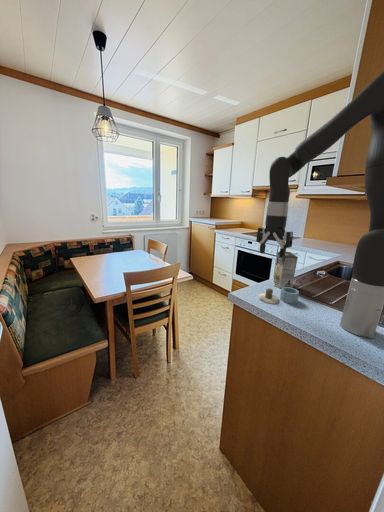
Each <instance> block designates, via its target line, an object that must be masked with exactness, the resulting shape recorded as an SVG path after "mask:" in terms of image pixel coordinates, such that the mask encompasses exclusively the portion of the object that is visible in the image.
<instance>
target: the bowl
mask: <svg viewBox="0 0 384 512" xmlns="http://www.w3.org/2000/svg"><path fill="white" fill-rule="evenodd" d="M280 289H281V290H280V295H279V296H280V297H279V300H281V301H282V302H283V303H286V304H288V305H289V304H290V305H296V304H297V303H298V301H299V295H300V291H299V290H297V289H296V288H293V287H292V288H290V287H283V288H280Z"/></svg>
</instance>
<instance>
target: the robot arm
mask: <svg viewBox="0 0 384 512" xmlns="http://www.w3.org/2000/svg"><path fill="white" fill-rule="evenodd" d="M367 117H369V118H370V140H369V144H368V149H367V154H366V159H365V166H364V167H365V168H364V191H365V197H366V200H367V205H368V209H369V211H370V213H369V214H370V216H369V217H370V218H369V219H370V220H369V226H368V232H366V233H365V234H362V236H361V237H360V239H359V240H358V242H357V245H356V249H355V254H354V258H353V263H352V276H351V279H350V283H349V288H348V291H347V295H346V299H345V303H344V308H343V311H342V314H341V317H340V323H339V325H340V327H341V328H342V329H344V330H345V331H347V332H349V333H351V334H353V335H355V336H359V337H363V338H369V339H374V337H375V334H376V331H377V328H378V325H379V321H380V318H381V314H382V312H383V309H384V70H383V71H382V72H380V73H379V74H378V75H377V76H376V77H375V78H374V79H373V80H372V81H371V82H369V84H368V85H367V86H365V88H363V90H362V91H360V93H358V94H357V95H356V97H354V98H353V99H352V100H351V101H350V102H349V103H348V104H347V105H345V106H344V108H342V109H341V110H339V112H338V113H337V114H335V115H334V116H333V117H332V118H330V119H329V120H328V121H327V122H326V123H325V124H323V125H322V126H320V127H318V129H316V130H315V131H314V132H313V133H311V134H310V135H309V136H308V137H306V138H305V139H303V140H302V141H300V143H299V144H297V146H296V147H295V149H294V151H293V152H291V154H290V155H288V156H286V157H285V156H279V157H275V159H274V160H273V161H272V162H271V164H270V167H269V175H268V176H269V197H268V203H267V207H266V208H267V209H266V213H265V214H266V215H265V216H266V217H265V223H264V225H265V227H258V228H257V233H256V240H255V241H256V243H259V252H260V254H265V252H266V246H267V245H266V243H267V242H268V241H274V242H277V244H279V247H280V248H279V252H280V254H279V258H283V257H284V256H285V253H286V252H287V249H289V248H292V246H293V238H294V231H292V230H291V231H286V226H287V220H288V212H289V201H290V192H291V191H290V190H291V188H290V187H289V182H290V181H289V180H290V178H291V177H293V176H294V175H296V174H297V173H298V172H299V171H300V170H302V169H303V168H304V167H305V166H306V165H307V164H308V163H309V162H311V161H314V159H316V158H317V157H319V156H320V155H322V154H323V153H324V152H325V151H327V150H329V149H330V148H331V147H332V146H334V145H335V144H336V143H337V142H338V141H339V140H340V139H341V138H343V136H344V135H346V134H347V132H349V131H350V130H351V129H353V128H354V126H356V125H357V124H358V123H360V122H361V121H362V120H364V119H366V118H367ZM284 236H285V237H284Z"/></svg>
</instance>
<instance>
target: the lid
mask: <svg viewBox="0 0 384 512" xmlns="http://www.w3.org/2000/svg"><path fill="white" fill-rule="evenodd" d="M273 292H274V290H273V289H272V288H266V291H265V293H264V292H263V293H260V294H258V300H260V301H261V302H263V303H266V304H274V305H275V304H277V303H279V300H280V298H278V296H276V295H275V294H273Z"/></svg>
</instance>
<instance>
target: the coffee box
mask: <svg viewBox="0 0 384 512" xmlns="http://www.w3.org/2000/svg"><path fill="white" fill-rule="evenodd" d="M279 254H280V251H277V254H276V262H275V269H274V273H273V274H274V275H273V283H274V284H275V286H277V288H278V289H281V288H283V287H290V288H293V285H294V281H295V280H294V279H295V275H296V274H295V273H296V269H297V264H298V263H297V262H298V258H299V257H298V256H297V255H295V254H294V253H292V252H291V251H286V253H285V256H284V257H283V258H279Z"/></svg>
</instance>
